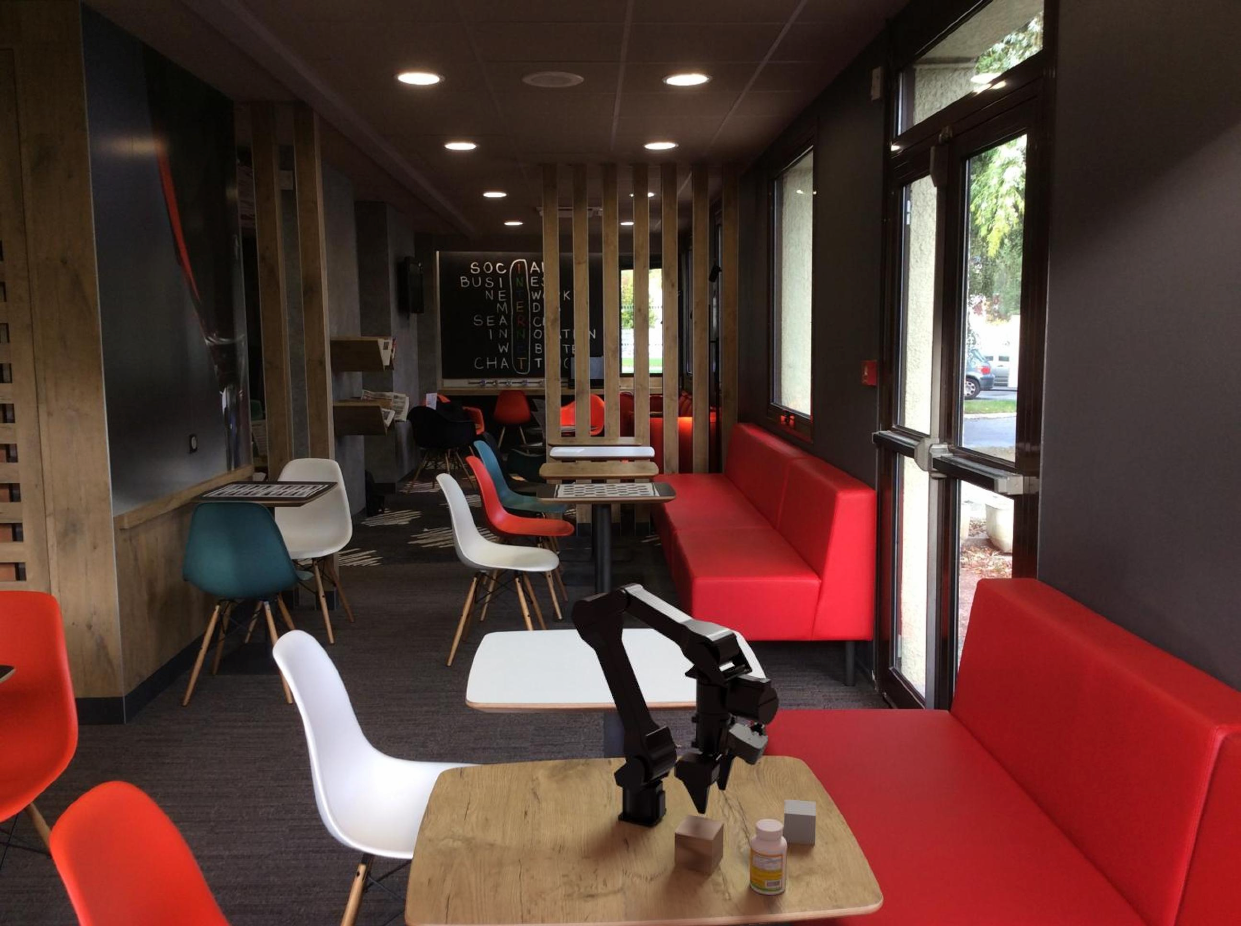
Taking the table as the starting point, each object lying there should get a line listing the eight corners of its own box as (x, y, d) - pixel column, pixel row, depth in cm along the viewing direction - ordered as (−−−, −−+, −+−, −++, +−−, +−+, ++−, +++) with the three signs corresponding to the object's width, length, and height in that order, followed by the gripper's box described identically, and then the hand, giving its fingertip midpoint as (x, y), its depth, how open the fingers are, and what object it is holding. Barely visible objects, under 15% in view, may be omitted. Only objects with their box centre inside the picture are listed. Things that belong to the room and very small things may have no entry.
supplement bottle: (761, 872, 159) (763, 812, 158) (792, 884, 156) (794, 823, 154) (742, 887, 155) (744, 825, 154) (774, 899, 152) (775, 837, 150)
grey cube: (783, 842, 169) (784, 812, 168) (784, 827, 173) (785, 799, 173) (814, 844, 168) (815, 815, 167) (815, 830, 173) (815, 801, 172)
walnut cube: (687, 814, 165) (686, 849, 166) (674, 830, 160) (674, 867, 161) (723, 821, 163) (723, 857, 164) (712, 838, 158) (711, 875, 158)
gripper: (743, 738, 153) (740, 838, 155) (780, 697, 170) (778, 787, 172) (673, 725, 158) (671, 822, 160) (716, 686, 174) (714, 774, 176)
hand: (712, 801), depth 167 cm, fingers open, 9 cm apart
